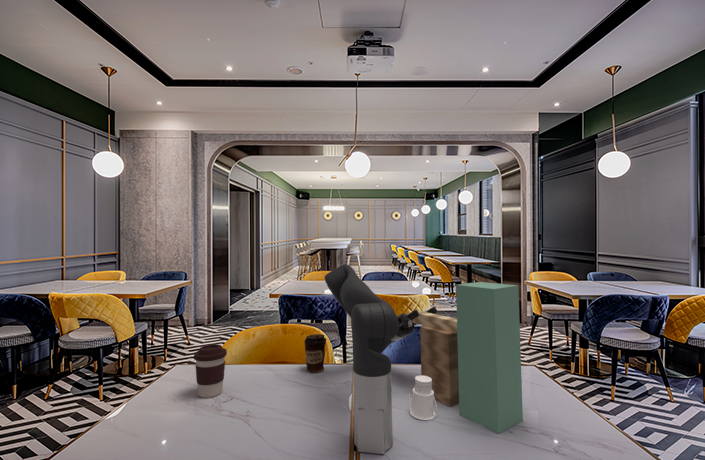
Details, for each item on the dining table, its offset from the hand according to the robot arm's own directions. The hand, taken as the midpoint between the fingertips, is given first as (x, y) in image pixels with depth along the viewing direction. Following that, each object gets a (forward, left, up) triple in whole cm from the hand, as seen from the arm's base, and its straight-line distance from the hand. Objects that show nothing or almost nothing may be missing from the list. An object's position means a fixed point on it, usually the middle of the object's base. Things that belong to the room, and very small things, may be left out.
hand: (426, 311), depth 115 cm
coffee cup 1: (-14, +70, -26) cm, 76 cm away
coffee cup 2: (+11, +42, -26) cm, 50 cm away
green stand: (-16, -16, -25) cm, 34 cm away
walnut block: (-5, -5, -25) cm, 26 cm away
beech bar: (-3, -3, -4) cm, 6 cm away
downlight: (-17, +2, -26) cm, 31 cm away
